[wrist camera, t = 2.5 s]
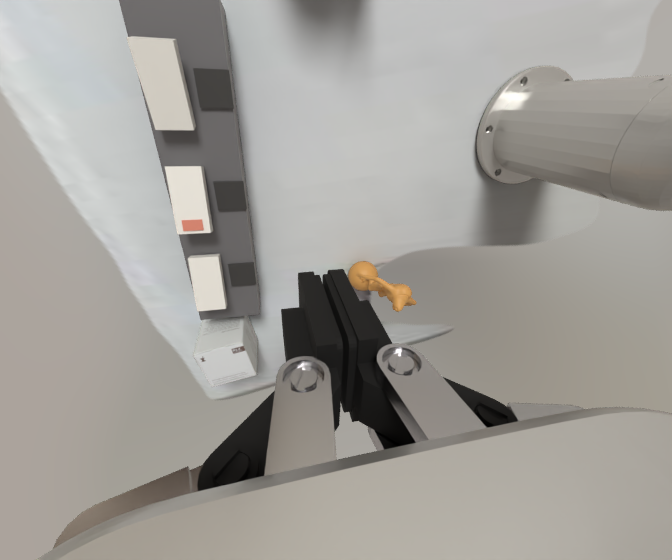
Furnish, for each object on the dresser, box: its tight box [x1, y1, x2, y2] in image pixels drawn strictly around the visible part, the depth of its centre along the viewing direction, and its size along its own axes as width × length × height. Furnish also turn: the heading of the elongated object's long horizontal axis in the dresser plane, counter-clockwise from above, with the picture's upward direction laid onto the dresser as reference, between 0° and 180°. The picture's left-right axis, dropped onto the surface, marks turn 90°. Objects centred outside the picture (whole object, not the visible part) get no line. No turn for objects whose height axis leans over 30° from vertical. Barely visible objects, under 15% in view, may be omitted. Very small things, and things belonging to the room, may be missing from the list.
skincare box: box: [193, 316, 258, 387], centre depth 40 cm, size 6×6×7 cm
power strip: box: [119, 0, 260, 320], centre depth 30 cm, size 7×36×4 cm, turn 178°
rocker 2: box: [165, 166, 213, 234], centre depth 28 cm, size 3×6×1 cm, turn 178°
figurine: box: [348, 261, 416, 312], centre depth 37 cm, size 8×6×12 cm
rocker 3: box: [188, 254, 227, 312], centre depth 33 cm, size 3×6×1 cm, turn 178°
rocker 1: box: [127, 36, 196, 130], centre depth 24 cm, size 3×6×1 cm, turn 178°
